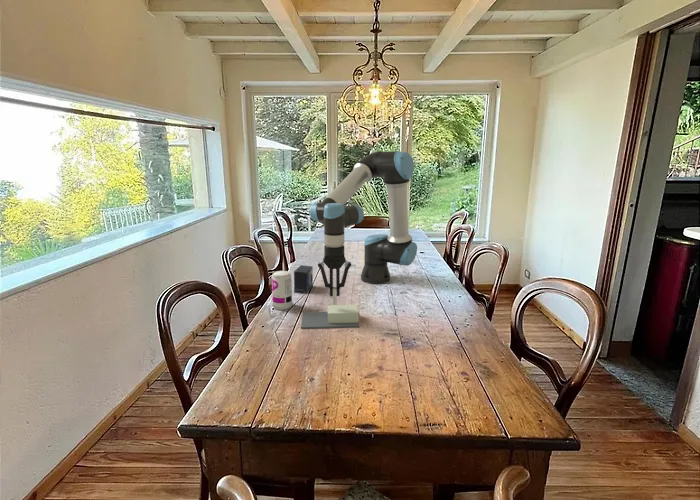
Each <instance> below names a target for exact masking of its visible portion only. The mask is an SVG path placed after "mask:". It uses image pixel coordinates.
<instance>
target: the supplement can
mask: <svg viewBox="0 0 700 500" xmlns="http://www.w3.org/2000/svg"><path fill="white" fill-rule="evenodd" d="M292 285H293V284H292V274H291V273H290V271H288V270H276V271H274V272H272V275H271V295H272V297H271V298H272V307H273V308H274V309H276V310H279V311H282V310H288V309H291V307H292V306H293V293H292V292H293V286H292Z"/></svg>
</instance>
